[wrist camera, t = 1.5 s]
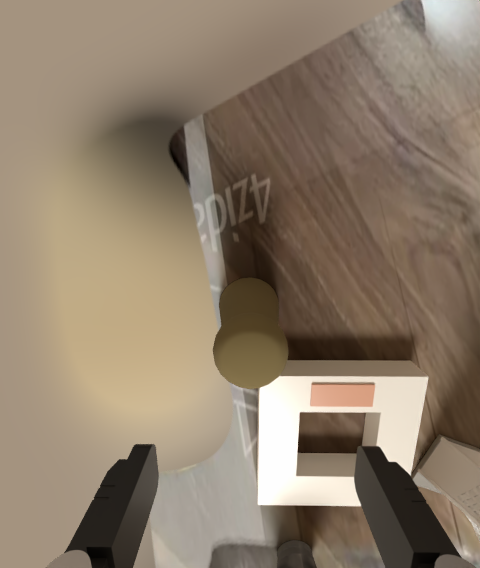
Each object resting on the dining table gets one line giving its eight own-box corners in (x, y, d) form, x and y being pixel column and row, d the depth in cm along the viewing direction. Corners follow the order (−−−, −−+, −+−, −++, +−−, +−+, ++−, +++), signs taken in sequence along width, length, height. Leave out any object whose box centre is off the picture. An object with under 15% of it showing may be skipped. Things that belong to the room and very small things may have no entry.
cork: (211, 286, 28) (191, 332, 18) (270, 270, 28) (286, 308, 17) (228, 340, 30) (219, 412, 19) (285, 326, 29) (307, 392, 19)
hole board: (410, 360, 30) (429, 377, 27) (391, 481, 34) (405, 508, 31) (258, 360, 30) (259, 377, 27) (256, 479, 34) (258, 506, 31)
